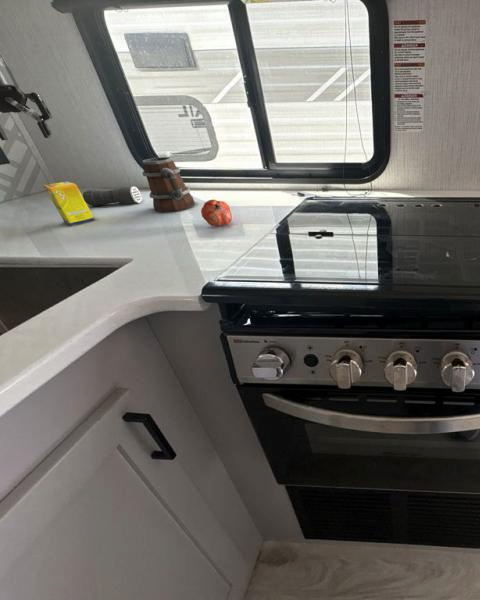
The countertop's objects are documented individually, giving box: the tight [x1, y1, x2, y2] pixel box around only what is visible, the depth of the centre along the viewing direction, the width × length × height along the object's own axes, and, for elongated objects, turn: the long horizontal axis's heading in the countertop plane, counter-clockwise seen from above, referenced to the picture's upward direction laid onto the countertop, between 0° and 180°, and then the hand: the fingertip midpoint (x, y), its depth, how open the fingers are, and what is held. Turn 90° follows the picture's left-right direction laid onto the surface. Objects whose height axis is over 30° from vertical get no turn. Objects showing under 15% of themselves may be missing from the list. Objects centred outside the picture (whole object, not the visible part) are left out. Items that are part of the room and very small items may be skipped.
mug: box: [141, 156, 196, 213], centre depth 105 cm, size 16×12×15 cm
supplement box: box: [43, 180, 96, 227], centre depth 97 cm, size 6×6×11 cm
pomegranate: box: [200, 199, 233, 227], centre depth 92 cm, size 7×7×10 cm
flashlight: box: [82, 186, 143, 207], centre depth 113 cm, size 15×5×5 cm, turn 102°
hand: (26, 139), depth 87 cm, fingers open, 8 cm apart
